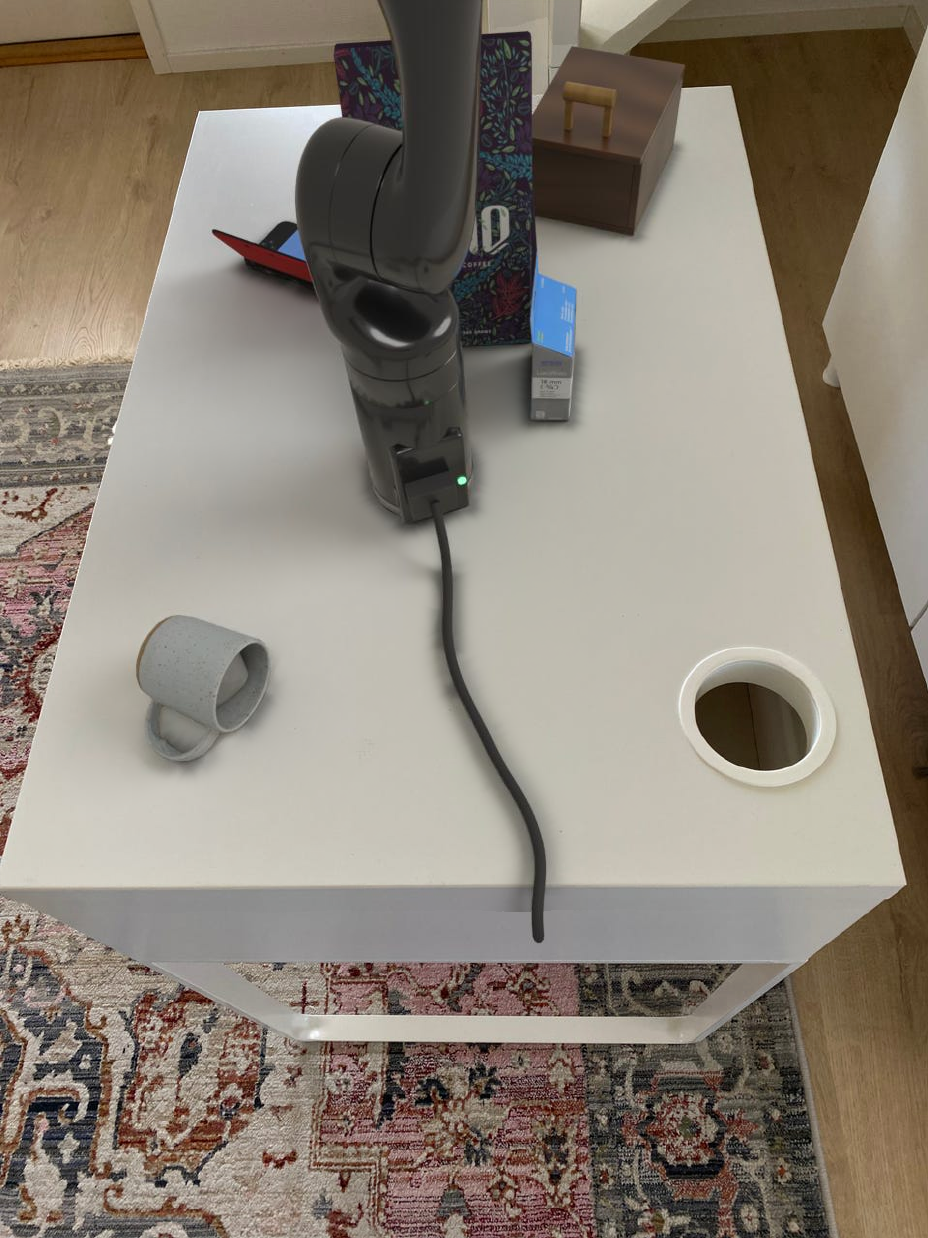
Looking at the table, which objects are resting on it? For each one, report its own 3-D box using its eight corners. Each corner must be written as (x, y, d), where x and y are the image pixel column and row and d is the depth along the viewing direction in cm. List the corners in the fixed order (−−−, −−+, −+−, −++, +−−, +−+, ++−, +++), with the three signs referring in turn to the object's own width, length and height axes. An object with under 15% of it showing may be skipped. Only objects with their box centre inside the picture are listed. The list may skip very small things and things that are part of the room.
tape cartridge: (570, 423, 89) (576, 323, 78) (529, 421, 89) (529, 321, 78) (574, 354, 93) (580, 250, 82) (534, 352, 93) (535, 249, 82)
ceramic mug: (197, 635, 79) (165, 590, 73) (281, 667, 77) (256, 623, 71) (128, 745, 75) (88, 707, 68) (216, 782, 73) (183, 747, 66)
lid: (640, 165, 93) (646, 113, 88) (520, 142, 96) (519, 90, 91) (684, 71, 100) (692, 18, 95) (571, 52, 103) (573, 0, 98)
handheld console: (379, 258, 101) (368, 198, 95) (323, 323, 97) (308, 264, 90) (284, 225, 105) (268, 164, 98) (227, 286, 101) (206, 227, 94)
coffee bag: (537, 346, 94) (541, 64, 69) (373, 354, 94) (320, 78, 70) (533, 288, 98) (535, 3, 73) (376, 297, 98) (327, 17, 74)
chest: (633, 236, 101) (642, 160, 93) (523, 212, 104) (522, 138, 96) (673, 148, 108) (684, 72, 100) (568, 129, 110) (571, 53, 103)
